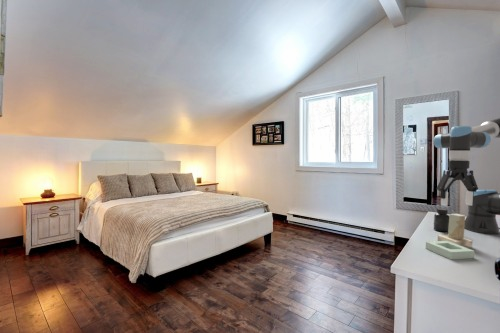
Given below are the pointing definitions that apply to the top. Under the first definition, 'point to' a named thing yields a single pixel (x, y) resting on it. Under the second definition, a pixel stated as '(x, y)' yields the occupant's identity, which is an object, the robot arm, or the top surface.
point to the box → (456, 226)
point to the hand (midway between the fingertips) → (456, 205)
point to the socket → (450, 250)
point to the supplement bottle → (441, 220)
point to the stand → (456, 241)
